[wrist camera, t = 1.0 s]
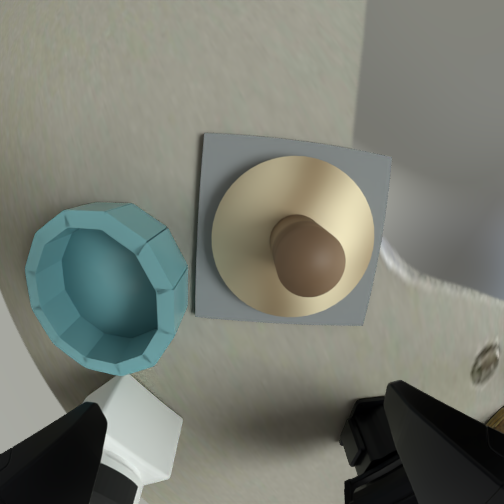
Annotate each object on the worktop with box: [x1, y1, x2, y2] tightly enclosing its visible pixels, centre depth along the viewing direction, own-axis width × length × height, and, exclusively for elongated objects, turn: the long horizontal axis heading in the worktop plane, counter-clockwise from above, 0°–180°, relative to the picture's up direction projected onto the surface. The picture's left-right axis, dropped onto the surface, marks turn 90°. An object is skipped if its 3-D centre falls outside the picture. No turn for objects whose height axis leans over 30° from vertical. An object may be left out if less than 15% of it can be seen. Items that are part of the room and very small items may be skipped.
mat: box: [195, 133, 392, 326], centre depth 19 cm, size 12×12×1 cm
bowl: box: [25, 202, 188, 376], centre depth 17 cm, size 11×11×4 cm
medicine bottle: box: [82, 374, 183, 504], centre depth 17 cm, size 7×7×12 cm
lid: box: [212, 156, 374, 317], centre depth 16 cm, size 10×10×6 cm
